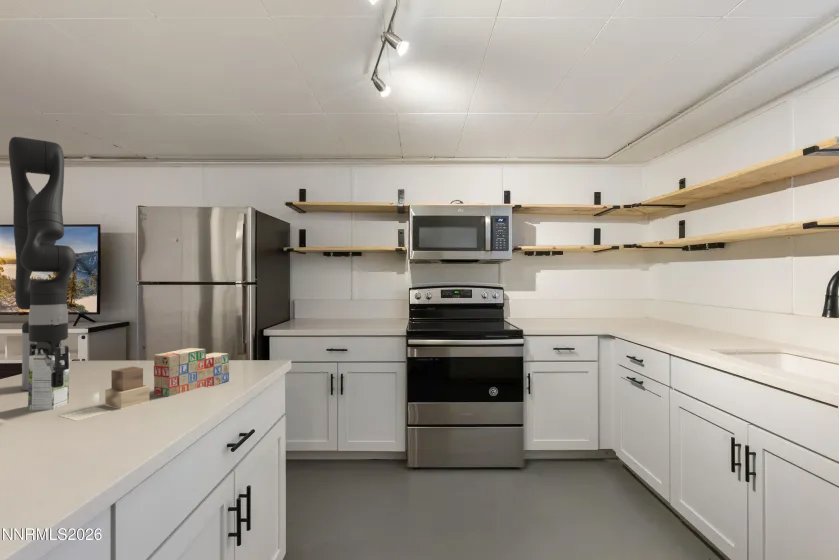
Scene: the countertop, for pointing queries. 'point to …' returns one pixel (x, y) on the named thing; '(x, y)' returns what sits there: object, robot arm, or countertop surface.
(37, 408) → the syrup box
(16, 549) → the countertop surface
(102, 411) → the pale flat slab
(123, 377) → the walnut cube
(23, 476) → the countertop surface
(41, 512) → the countertop surface
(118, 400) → the maple block
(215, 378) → the stack of blocks
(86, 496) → the countertop surface
